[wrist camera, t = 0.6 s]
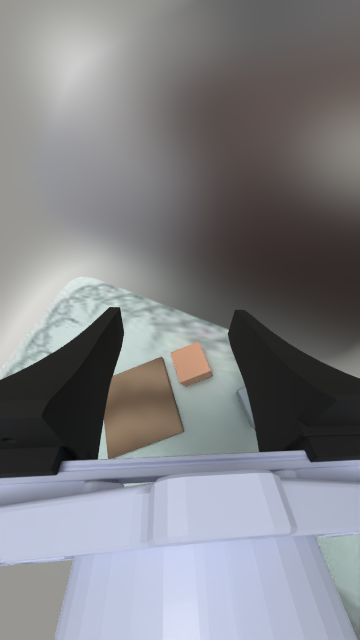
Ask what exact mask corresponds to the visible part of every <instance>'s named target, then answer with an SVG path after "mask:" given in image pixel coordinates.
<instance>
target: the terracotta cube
mask: <svg viewBox="0 0 360 640" xmlns="http://www.w3.org/2000/svg"><path fill="white" fill-rule="evenodd" d="M171 356H172V359H173V362H174V366H175V369H176V372H177V375H178V378H179V381H180V383H181V384H183V385H184V386H188V385H191V384H194V383H196V382H199V381H201V380H204V379H207V378H209V377H212V376H213V375H212V373H211V370H210V368H209V365H208V363H207V360H206V358H205V355H204V353H203V351H202V348H201V346H200V343H199V342H196V343H194V344H191V345H189V346H186V347H184V348H181V349H179V350H176V351H174V352H171Z"/></svg>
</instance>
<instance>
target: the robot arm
mask: <svg viewBox="0 0 360 640" xmlns="http://www.w3.org/2000/svg"><path fill="white" fill-rule="evenodd" d="M123 336H124V329H123V323H122V317H121V310H120V307H109V308H108V309H107V310H106V311H105V312H104V313H103V314H102V315H101V316H100V317H99V318H98V319H97V320H95V321H94V322H93V323H92V324H91V325H90V326H89V327H88V328H87V329H85V330H84V331H83V332H82V333H80V334H79V335H78V336H77V337H75V338H74V339H73V340H71V341H70V342H69V343H67V344H66V345H64V346H63V347H61V348H60V349H58V350H57V351H55V352H53V353H52V354H50V355H48V356H47V357H45V358H43V359H42V360H40V361H38V362H36V363H34V364H33V365H31V366H29V367H27V368H25V369H23V370H21V371H19V372H17V373H15V374H12V375H10V376H8V377H6V378H4V379H1V380H0V566H4V565H17V564H28V563H41V562H52V561H65V560H73V564H72V567H71V572H70V576H69V580H68V584H67V588H66V592H65V597H64V601H63V605H62V609H61V613H60V617H59V621H58V626H57V630H56V634H55V638H54V640H357V638H356V635H355V633H354V630H353V628H352V625H351V623H350V620H349V618H348V615H347V613H346V611H345V608H344V606H343V603H342V601H341V598H340V596H339V593H338V591H337V588H336V586H335V584H334V581H333V579H332V576H331V574H330V571H329V569H328V566H327V564H326V562H325V559H324V557H323V554H322V552H321V549H320V547H319V544H318V542H317V539H316V538H326V537H337V536H348V535H358V534H360V379H359V378H357V377H354V376H352V375H349V374H347V373H344V372H342V371H340V370H338V369H335V368H333V367H331V366H329V365H327V364H325V363H322V362H320V361H318V360H317V359H315V358H313V357H311V356H309V355H307V354H305V353H303V352H302V351H300V350H298V349H297V348H295V347H294V346H292V345H290V344H288V343H287V342H286V341H284V340H283V339H281V338H280V337H279V336H277V335H276V334H274V333H273V332H272V331H270V330H269V329H268V328H267V327H265V326H264V325H263V324H262V323H260V322H259V321H258V320H256V319H255V318H254V317H253V316H252V315H250V314H249V313H248V312H246V311H245V310H235V312H234V316H233V319H232V322H231V325H230V329H229V332H228V336H229V341H230V345H231V348H232V351H233V354H234V357H235V359H236V362H237V364H238V367H239V369H240V372H241V375H242V377H243V380H244V383H245V387H246V391H247V395H248V398H249V403H250V407H251V411H252V416H253V420H254V425H255V430H256V436H257V441H258V447H259V452H255V453H233V454H211V455H189V456H166V457H144V458H122V459H100V460H98V453H99V446H100V439H101V433H102V427H103V420H104V415H105V409H106V404H107V398H108V393H109V388H110V384H111V380H112V376H113V373H114V370H115V367H116V364H117V360H118V357H119V354H120V351H121V347H122V342H123ZM144 482H155V483H149V484H142V485H135V486H128V487H124V485H123V484H126V483H144Z"/></svg>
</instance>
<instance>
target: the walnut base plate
mask: <svg viewBox="0 0 360 640" xmlns="http://www.w3.org/2000/svg"><path fill="white" fill-rule="evenodd" d="M104 424H105V433H106V443H107V452H108V459H111V458H114V457H117V456H119V455H122V454H125V453H127V452H130V451H133V450H135V449H138V448H141V447H143V446H146V445H149V444H152V443H154V442H157V441H160V440H162V439H165V438H168V437H170V436H173V435H176V434H178V433H181V432H183V431H184V429H183V426H182V422H181V419H180V415H179V412H178V408H177V405H176V401H175V398H174V394H173V391H172V387H171V384H170V380H169V377H168V374H167V370H166V367H165V363H164V360H163V358H162V357H160V358H157V359H155V360H152V361H150V362H147V363H145V364H142V365H140V366H137V367H134V368H132V369H129V370H127V371H124V372H122V373H119V374H117V375H114V376H112V380H111V384H110V388H109V393H108V398H107V404H106V409H105V415H104Z"/></svg>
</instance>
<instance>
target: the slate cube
mask: <svg viewBox="0 0 360 640" xmlns="http://www.w3.org/2000/svg"><path fill="white" fill-rule="evenodd" d="M236 394H237V396H238V398H239V400H240V402H241V405H242V407H243V409H244V411H245V414H246V416H247V418H248V420H249V423H250V425H251V427H253V428H255V425H254V420H253V416H252V411H251V407H250V403H249V398H248V395H247V391H246V387H244V388H241V389H239V390H238V391H237V392H236Z"/></svg>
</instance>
